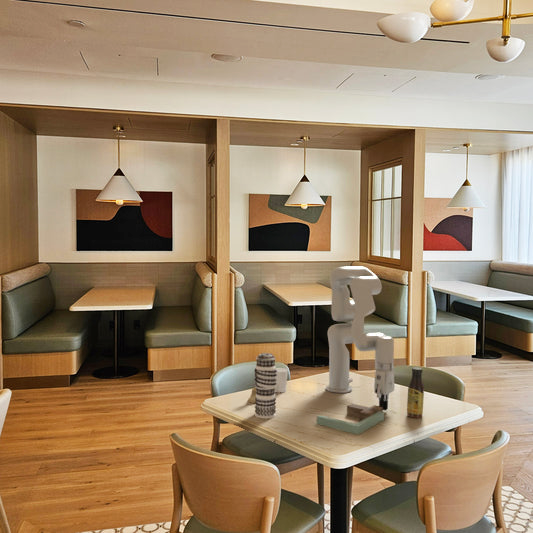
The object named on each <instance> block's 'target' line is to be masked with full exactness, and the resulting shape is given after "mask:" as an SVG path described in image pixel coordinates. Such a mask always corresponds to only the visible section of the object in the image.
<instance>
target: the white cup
mask: <svg viewBox="0 0 533 533" xmlns="http://www.w3.org/2000/svg"><path fill="white" fill-rule="evenodd" d="M275 370H277V372H276V373H275V374H277V376H275V379H276V381H275V383H276V387H275V393H280V392H281V393H285V392H286V391H287V384H288V373H289V372H288V369H287V368H285V367H283V368H282V367H275Z"/></svg>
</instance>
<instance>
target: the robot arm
mask: <svg viewBox="0 0 533 533" xmlns="http://www.w3.org/2000/svg"><path fill="white" fill-rule="evenodd" d="M329 284H330V288H331V307H330V308H331V318H332V320H333V321H336V322H350V323H336V324H333V325H330V327H328V330H327V338H328V347H329V352H328V353H329V363H328V364H329V365H328V368H329V370H328V372H329V373H328V384H327V385H325V390H326V391H328V392H331V393H335V394H336V393H339V394H346V393H349V392H352V391H353V387H352V386H351V385H350V384H351V383H352V382H353V379H352V378H350V351H349V350H348V348H347V345H346V344H348V345H349V344H354V346H355V348H356V349H357V351H359V352H370V351H371V352H373V351H374V370H375V372H374V373H375V374H374V385H373V386H374V387H373V390H374V394H376V398H378V406H380V407H383V411H387V410H388V408H389V396H390V394H391V393H393V392H394V391H395V371H394V357H395V356H394V355H395V354H394V352H395V351H394V350H395V348H394V346H395V345H394V344H395V341H394V340H395V339H394V338H393V336H391V335H386V334H384V333H383V332H366V333H365V332H364V330H365V327H364V326H365V317H367V316H368V315H371V314H373V313H374V312H375V311H376V304H375V301H374V298H373V296H374V295H379V294H380V293H381V292H382V289H383V286H382V282H381V280H380V278H379V277H378V276H377V275H376V274H375V273H373V272H372V271H371V269H369V268H367V267H365V266H339V267H338V266H337V267H334V268H333V269H332V270H331V272H330V275H329ZM348 285H349V287H350V289H349V288H348ZM350 292H351V293H350ZM351 295H352V296H351ZM350 296H351V297H352V299H353V300H351V298H350Z"/></svg>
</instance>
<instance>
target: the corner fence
mask: <svg viewBox="0 0 533 533" xmlns="http://www.w3.org/2000/svg"><path fill="white" fill-rule="evenodd" d="M384 420H385V411H383V412H381V411H379V412H377V413H375V414H373V415H371V416H370V417H368V418H366V419H364V420H362V421H360V422H359V421H358V422H357V423H354V422H350V421H346V420H342V419H337V418H334V417H330V416H326V415H321V414H318V415H317V416H316V425H320V426H323V427H327V428H331V429H335V430H339V431H342V432H347V433H351V434H355V435H359V434H362V433H363V432H365V431H367V430H368V429H370V428H372V427H374V426H375V425H377V424H379V423H381V422H382V421H384Z"/></svg>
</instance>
